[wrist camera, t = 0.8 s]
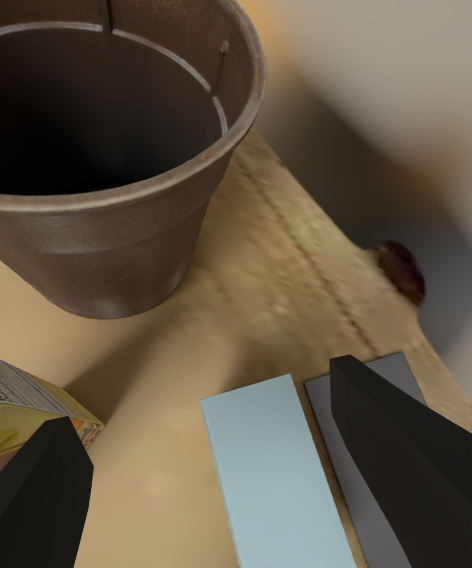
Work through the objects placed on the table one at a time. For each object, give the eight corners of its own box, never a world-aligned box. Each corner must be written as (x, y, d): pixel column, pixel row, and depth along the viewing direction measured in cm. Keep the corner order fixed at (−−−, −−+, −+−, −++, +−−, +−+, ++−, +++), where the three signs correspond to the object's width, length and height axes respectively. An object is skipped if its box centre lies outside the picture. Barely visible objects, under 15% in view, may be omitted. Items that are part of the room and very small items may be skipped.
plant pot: (-20, 183, 27) (-238, -117, 12) (177, 152, 32) (189, -84, 17) (15, 382, 21) (-288, 276, 7) (243, 307, 27) (338, 157, 12)
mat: (508, 587, 22) (512, 589, 22) (398, 656, 20) (402, 659, 19) (399, 352, 28) (402, 352, 27) (303, 382, 25) (304, 382, 25)
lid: (356, 595, 17) (369, 605, 16) (258, 647, 16) (265, 663, 14) (283, 376, 21) (290, 373, 20) (199, 401, 19) (201, 399, 18)
